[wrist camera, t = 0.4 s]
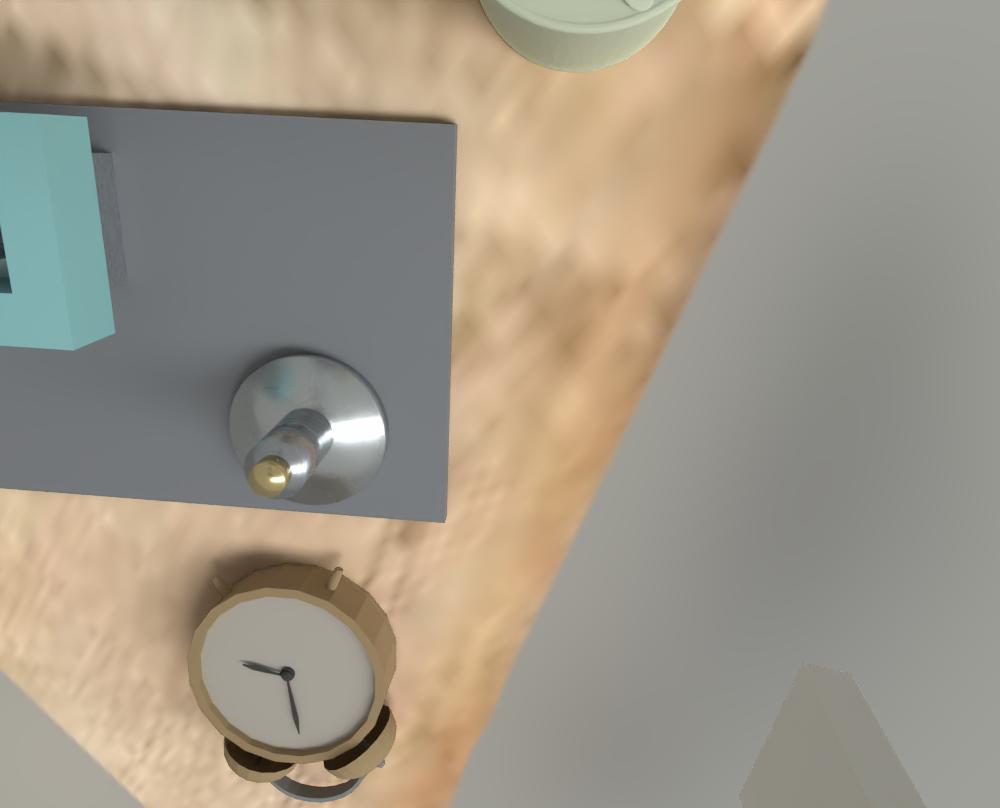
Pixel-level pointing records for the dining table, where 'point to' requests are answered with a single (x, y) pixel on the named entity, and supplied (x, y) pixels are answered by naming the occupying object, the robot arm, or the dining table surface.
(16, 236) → the teal square collar
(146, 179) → the mat
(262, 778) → the alarm clock
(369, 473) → the bell
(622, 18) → the can
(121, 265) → the stand
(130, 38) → the dining table surface
